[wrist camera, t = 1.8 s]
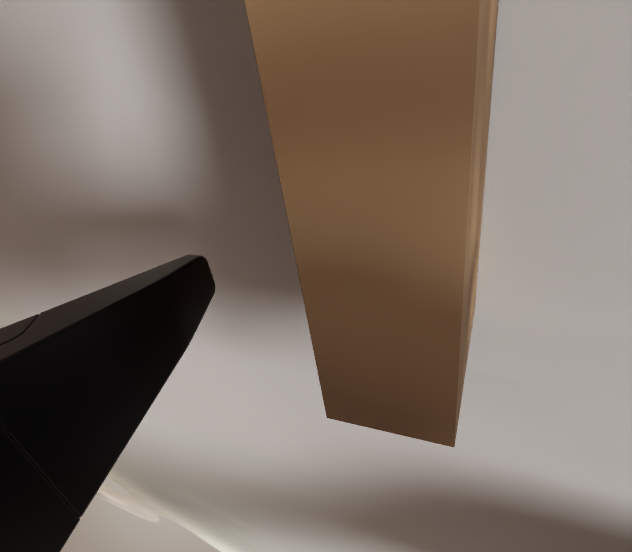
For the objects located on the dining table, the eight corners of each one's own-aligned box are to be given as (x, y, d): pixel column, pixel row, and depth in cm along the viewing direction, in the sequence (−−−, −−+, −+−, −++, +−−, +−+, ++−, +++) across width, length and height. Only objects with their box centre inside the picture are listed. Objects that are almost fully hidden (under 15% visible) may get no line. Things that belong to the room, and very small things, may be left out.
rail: (475, 306, 13) (455, 448, 10) (377, 295, 14) (326, 418, 11) (542, -552, 6) (574, -1570, 2) (321, -432, 7) (62, -903, 3)
